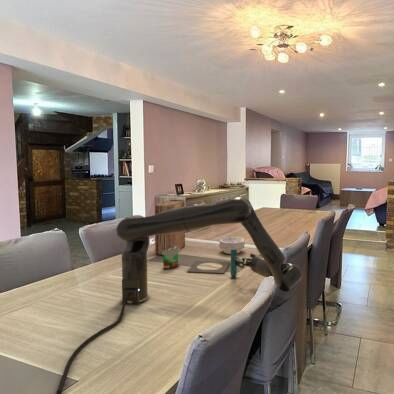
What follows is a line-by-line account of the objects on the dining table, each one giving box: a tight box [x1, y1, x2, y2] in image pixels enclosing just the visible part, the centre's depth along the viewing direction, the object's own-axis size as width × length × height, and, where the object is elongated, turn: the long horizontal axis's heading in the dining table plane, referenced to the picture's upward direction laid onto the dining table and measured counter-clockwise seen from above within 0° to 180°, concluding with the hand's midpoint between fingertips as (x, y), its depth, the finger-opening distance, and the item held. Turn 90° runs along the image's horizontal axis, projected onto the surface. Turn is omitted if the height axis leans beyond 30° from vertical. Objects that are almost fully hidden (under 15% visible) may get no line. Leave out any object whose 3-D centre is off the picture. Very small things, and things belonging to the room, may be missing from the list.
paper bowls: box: [219, 236, 245, 255], centre depth 206 cm, size 15×15×8 cm
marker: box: [230, 248, 238, 280], centre depth 159 cm, size 3×3×14 cm
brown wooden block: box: [154, 199, 186, 256], centre depth 207 cm, size 25×9×30 cm, turn 174°
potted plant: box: [161, 245, 181, 270], centre depth 175 cm, size 12×6×10 cm, turn 168°
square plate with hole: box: [187, 260, 231, 275], centre depth 175 cm, size 18×18×1 cm
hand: (242, 257), depth 152 cm, fingers open, 8 cm apart
